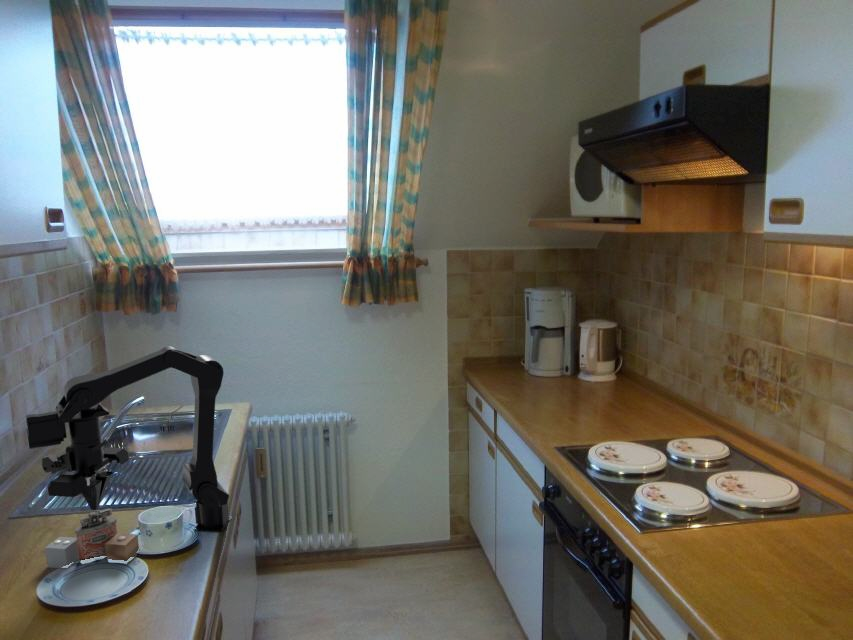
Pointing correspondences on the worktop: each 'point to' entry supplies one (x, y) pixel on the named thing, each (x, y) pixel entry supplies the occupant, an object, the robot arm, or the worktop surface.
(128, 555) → the walnut block
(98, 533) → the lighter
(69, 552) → the grey block
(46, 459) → the robot arm
